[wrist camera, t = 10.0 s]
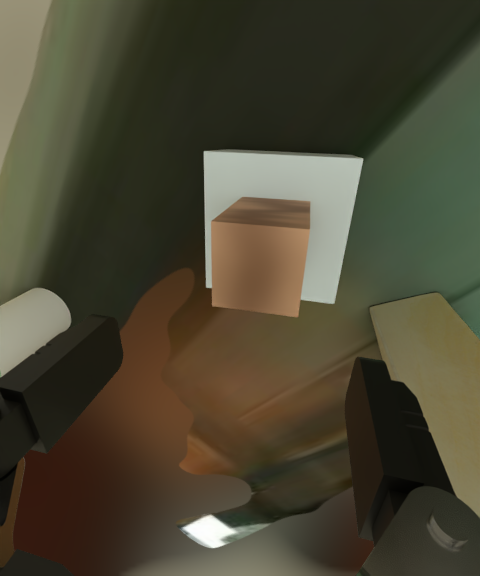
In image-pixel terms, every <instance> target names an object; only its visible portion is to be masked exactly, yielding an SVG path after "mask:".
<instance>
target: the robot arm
mask: <svg viewBox="0 0 480 576" xmlns="http://www.w3.org/2000/svg"><path fill="white" fill-rule="evenodd" d="M122 359H123V349H122V344H121V339H120V333H119V328H118V323H117V320H116V319H115V318H113V317H107V316H101V315H95V314H92V315H90V316H88V317H87V318H86V319H84V320H83V321H82V322H80V323H79V324H78V325H76V326H74V327H72V328H70V329H68V330H66V331H64V332H61V333H59V334H58V335H56V336H55V337H54V338H53V339H51V340H50V341H49V342H47V343H46V345H45V346H44V345H43V346H42V347H41V348H39V349H38V350H37V351H35V354H31V355H30V356H29V357H27V358H26V359H25V360H23V361H22V362H21V363H19V364H18V365H17V366H15V367H14V368H13V369H11V370H10V371H9V372H7V373H6V374H5V375H3V376H2V377H1V378H0V576H74V575H73V574H72V573H71V572H69V571H68V570H67V569H66V568H65V567H64V566H63V565H62V564H60V563H57V562H54V561H51V560H47V559H45V558H42V557H39V556H36V555H33V554H30V553H27V552H24V551H21V550H18V549H17V550H16V551H15V552H14V547H13V527H14V522H15V517H16V511H17V505H18V500H19V495H20V490H21V484H22V479H23V473H24V468H25V460H24V458H23V457H24V455H25V454H26V453H27V452H28V451H29V450H30V449H32V450H36V451H40V452H43V453H47V452H49V450H50V449H51V448H52V447H53V446H54V444H55V443H56V442H57V441H58V440H59V439H60V438H61V436H62V435H63V434H64V433H65V432H66V431H67V429H68V428H69V427H70V426H71V425H72V423H73V422H74V421H75V420H76V419H77V418H78V417H79V415H80V414H81V413H82V412H83V411H84V410H85V408H86V407H87V406H88V405H89V404H90V403H91V401H92V400H93V399H94V398H95V396H97V394H98V393H99V392H100V391H101V390H102V389H103V387H104V386H105V385H106V384H107V382H108V381H109V380H110V379H111V378H112V377H113V375H114V374H115V373H116V372H117V371H118V370H119V368H120V366H121V364H122ZM345 419H346V428H347V437H348V446H349V455H350V464H351V473H352V482H353V491H354V500H355V509H356V518H357V527H358V535H359V537H360V538H364V539H368V540H371V541H374V549H373V551H372V552H371V554H370V555H369V557H368V558H367V560H366V562H365V563H364V565H363V566H362V568H361V569H360V571H359V572H358V574H357V575H356V576H480V518H479V517H478V515H477V514H476V513H475V512H474V511H473V510H472V509H471V508H470V507H469V506H468V505H466V504H465V503H464V502H463V501H461V500H460V499H459V498H457V496H456V494H455V492H454V490H453V487H452V485H451V482H450V480H449V477H448V475H447V472H446V470H445V467H444V465H443V462H442V460H441V457H440V455H439V452H438V449H437V447H436V444H435V442H434V439H433V437H432V434H431V432H429V427H428V424H427V422H426V419H425V417H423V412H422V409H421V407H420V404H419V402H418V399H417V397H416V396H415V395H414V394H413V393H412V391H411V390H410V389H409V388H408V387H407V386H406V385H405V383H404V382H400V381H394V380H391V378H390V374H389V371H388V368H387V365H386V363H385V361H382V360H375V359H369V358H363V357H357V358H356V360H355V363H354V367H353V370H352V374H351V378H350V382H349V386H348V390H347V394H346V400H345Z"/></svg>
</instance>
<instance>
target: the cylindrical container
mask: <svg viewBox="0 0 480 576" xmlns="http://www.w3.org/2000/svg"><path fill="white" fill-rule="evenodd" d="M70 324H71V315H70V312H69V309H68V307H67V306H66V304H65V303H64V302H63V300H62V299H61V298H60V297H59V296H57V295H56V294H55V293H53V292H51V291H49V290H47V289H43V288H34V289H31V290H29V291H27V292H25V293H23V294H22V295H20V296H18V297H16V298H14V299H12V300H10V301H8V302H6V303H4V304H2V305H1V306H0V378H1V377H2V376H3V375H5V374H6V373H7V372H9V371H10V370H11V369H13V368H14V367H15V366H17V365H18V364H19V363H21V362H22V361H23V360H25V359H26V358H27V357H29V356H30V355H31V354H35V351H37V350H38V349H39V348H41V347H42V346H43V345H44V346H45V345H46V343H47V342H49V341H50V340H51V339H53V338H54V337H55V336H56V335H58V334H59V333H61V332H64V331H66V330H67V329H68V328H69V326H70Z"/></svg>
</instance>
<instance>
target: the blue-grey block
mask: <svg viewBox="0 0 480 576" xmlns="http://www.w3.org/2000/svg"><path fill="white" fill-rule="evenodd" d="M362 163H363V158H360V157H356V156H353V155H342V154H320V153H298V152H276V151H253V150H231V149H225V150H212V151H204V193H205V252H206V288H212V260H211V221H212V220H213V219H215V218H216V217H217V216H218V215H220V214H221V213H222V212H223V211H225V210H226V209H227V208H229V207H230V206H231V205H232V204H234V203H235V202H236V201H238V200H239V199H240V198H241V197H255V198H270V199H285V200H300V201H310V234H309V241H308V248H307V256H306V263H305V270H304V278H303V285H302V292H301V300H307V301H314V302H322V303H330V304H334V302H335V297H336V292H337V287H338V282H339V277H340V272H341V267H342V262H343V257H344V252H345V247H346V242H347V237H348V233H349V228H350V223H351V218H352V213H353V208H354V203H355V198H356V193H357V188H358V183H359V178H360V173H361V168H362Z"/></svg>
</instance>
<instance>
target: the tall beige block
mask: <svg viewBox="0 0 480 576" xmlns="http://www.w3.org/2000/svg"><path fill="white" fill-rule="evenodd" d="M370 314H371V318H372V322H373V326H374V329H375V333H376V337H377V341H378V345H379V348H380V352H381V356H382V360H383V361H385V363H386V365H387V368H388V371H389V374H390V378H391V380H394V381H400V382H404V383H405V385H406V386H407V387H408V388H409V389H410V390H411V391H412V393H413V394H414V395H415V396H416V397H417V399H418V402H419V404H420V407H421V409H422V412H423V417H425V419H426V422H427V424H428V427H429V432H431V434H432V437H433V439H434V442H435V444H436V447H437V449H438V452H439V455H440V457H441V460H442V462H443V465H444V467H445V470H446V472H447V475H448V477H449V480H450V482H451V485H452V487H453V490H454V492H455V494H456V496H457V498H459V499H460V500H461V501H463V502H464V503H465V504H466V505H468V506H469V507H470V508H471V509H472V510H473V511H474V512H475V513H476V514H477V515H478V517H479V518H480V340H479V338H478V337H477V336H476V335H475V334H474V333H473V332H472V330H471V329H470V328H469V327H468V326H467V324H466V323H465V322H464V321H463V320H462V319H461V318H460V317H459V315H458V314H457V313H456V312H455V311H454V310H453V308H452V307H451V306H450V305H449V304H448V302H447V301H446V300H445V299H444V298H443V297H442V295H441V294H440V293H429V294H424V295H420V296H415V297H411V298H406V299H402V300H398V301H393V302H389V303H384V304H380V305H376V306H372V307H370Z"/></svg>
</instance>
